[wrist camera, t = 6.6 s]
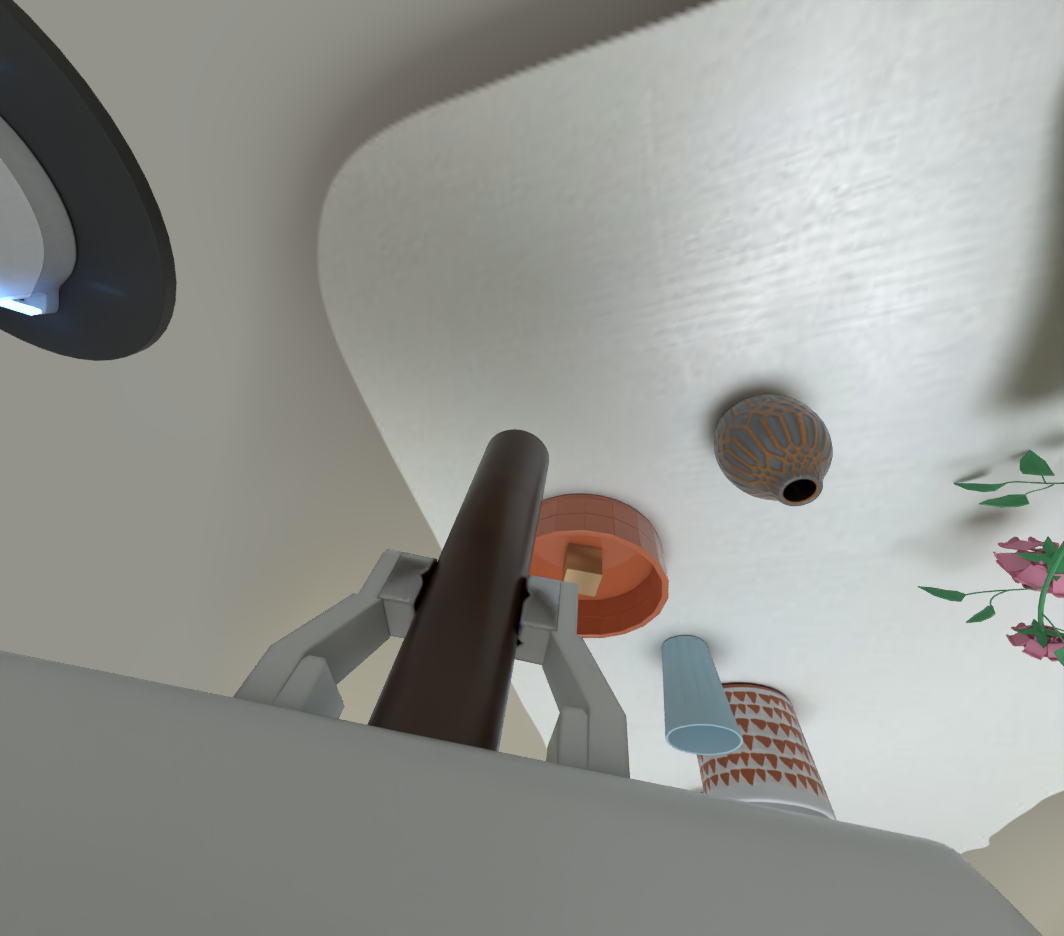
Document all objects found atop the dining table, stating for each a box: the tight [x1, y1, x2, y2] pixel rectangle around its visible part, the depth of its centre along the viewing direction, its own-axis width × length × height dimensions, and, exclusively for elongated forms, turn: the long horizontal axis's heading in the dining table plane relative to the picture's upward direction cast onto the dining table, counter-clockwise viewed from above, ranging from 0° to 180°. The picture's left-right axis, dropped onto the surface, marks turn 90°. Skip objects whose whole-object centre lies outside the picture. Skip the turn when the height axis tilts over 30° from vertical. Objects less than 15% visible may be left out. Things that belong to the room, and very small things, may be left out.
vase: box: [714, 394, 833, 506], centre depth 27 cm, size 7×7×9 cm
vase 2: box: [697, 684, 837, 821], centre depth 51 cm, size 14×14×13 cm
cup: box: [662, 636, 743, 755], centre depth 45 cm, size 8×8×10 cm
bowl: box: [529, 494, 668, 638], centre depth 39 cm, size 16×16×5 cm
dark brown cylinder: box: [368, 429, 549, 751], centre depth 12 cm, size 3×3×13 cm
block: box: [562, 543, 603, 597], centre depth 39 cm, size 4×4×4 cm
